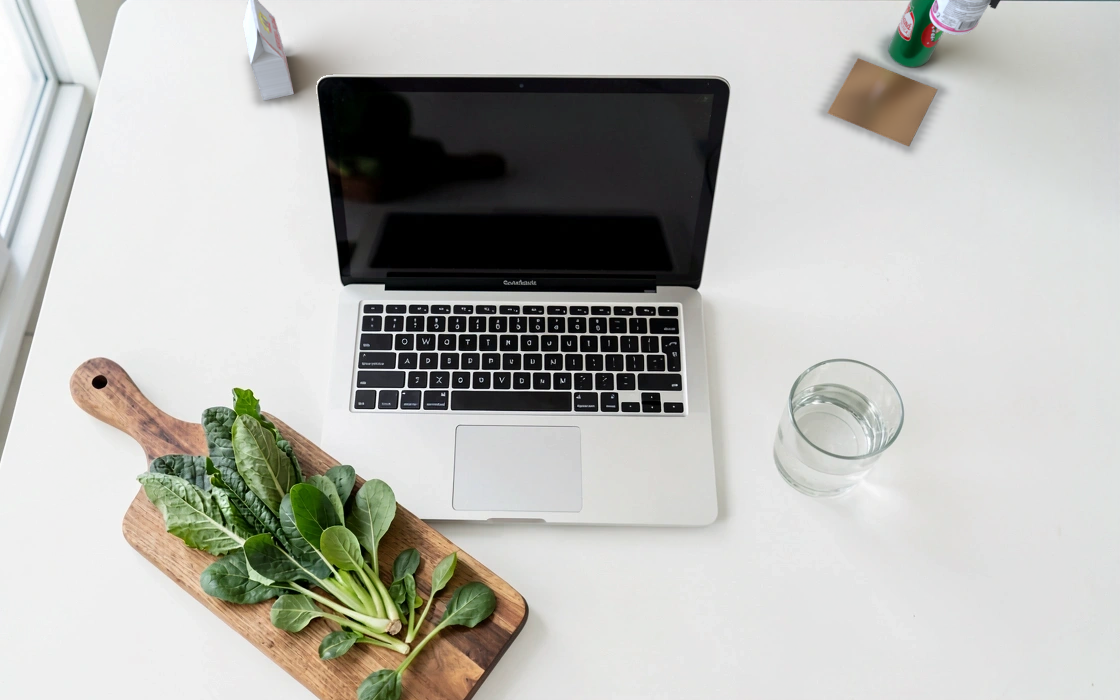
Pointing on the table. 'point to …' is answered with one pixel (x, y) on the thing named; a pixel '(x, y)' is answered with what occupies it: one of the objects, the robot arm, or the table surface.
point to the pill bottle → (957, 15)
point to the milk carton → (266, 52)
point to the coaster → (882, 101)
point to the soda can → (915, 35)
